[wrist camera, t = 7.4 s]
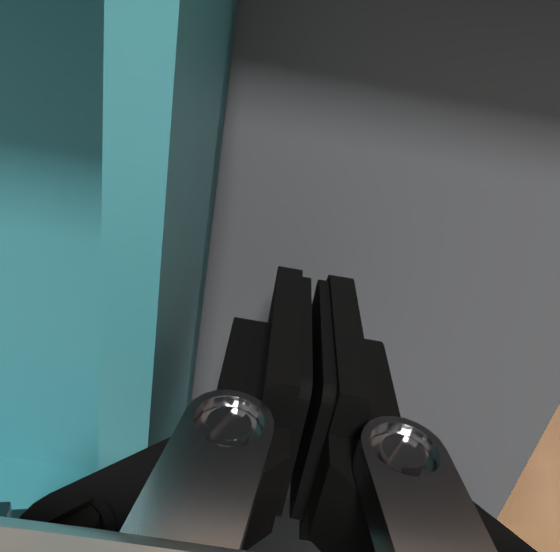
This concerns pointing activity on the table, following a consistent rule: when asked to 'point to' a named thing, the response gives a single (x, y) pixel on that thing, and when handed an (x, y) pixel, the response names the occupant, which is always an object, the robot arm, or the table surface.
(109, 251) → the teal square tray
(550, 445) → the table surface
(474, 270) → the bay
